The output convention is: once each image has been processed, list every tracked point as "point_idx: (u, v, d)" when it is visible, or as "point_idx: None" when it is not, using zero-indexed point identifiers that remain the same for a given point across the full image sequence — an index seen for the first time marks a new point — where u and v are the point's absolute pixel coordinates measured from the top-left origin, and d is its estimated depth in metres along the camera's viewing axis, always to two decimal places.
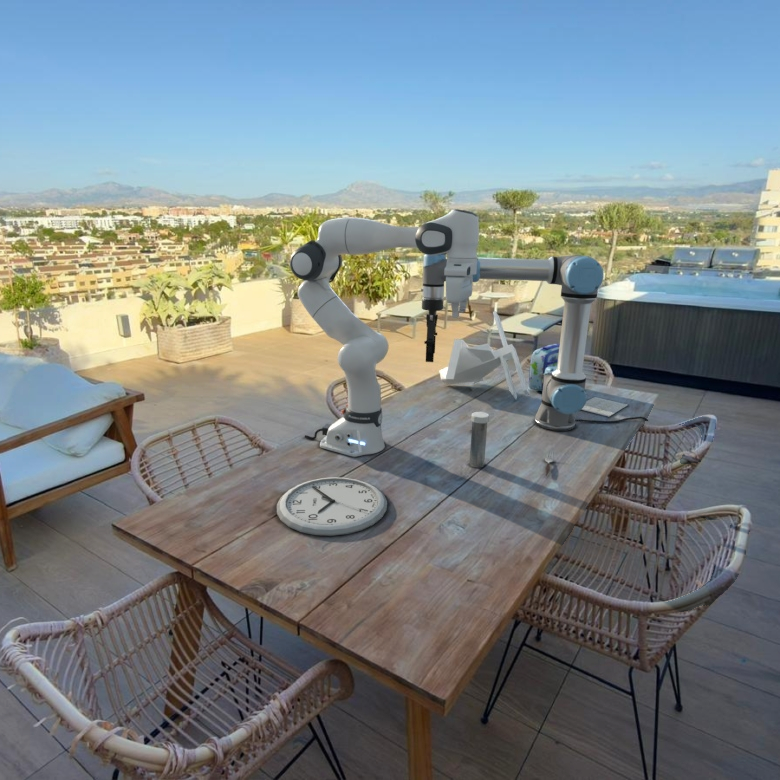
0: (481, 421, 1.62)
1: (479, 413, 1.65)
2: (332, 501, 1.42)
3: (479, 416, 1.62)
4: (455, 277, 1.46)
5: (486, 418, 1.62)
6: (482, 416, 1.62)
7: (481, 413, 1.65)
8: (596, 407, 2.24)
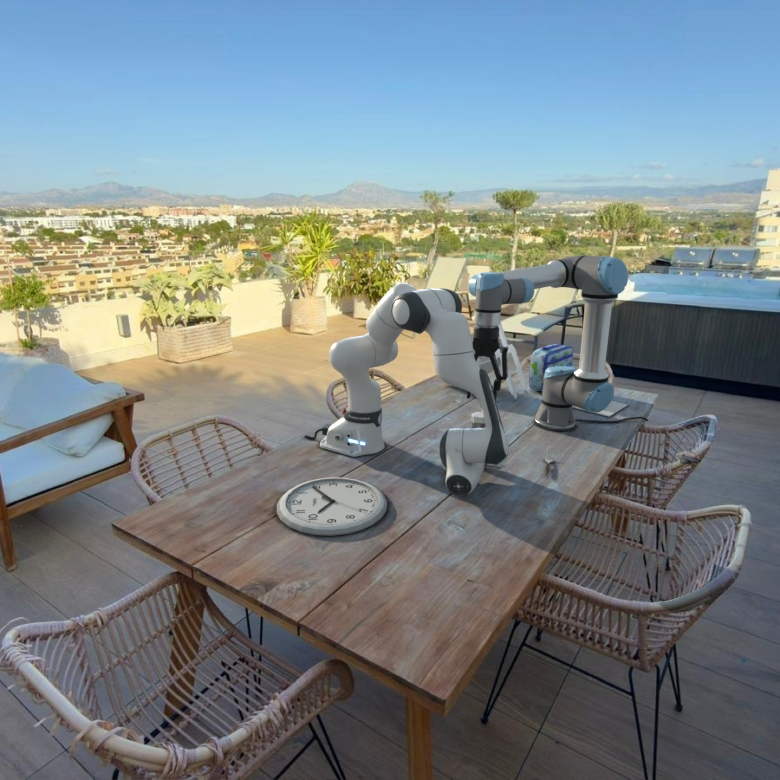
0: (481, 421, 1.62)
1: (479, 413, 1.65)
2: (332, 501, 1.42)
3: (479, 416, 1.62)
4: None
5: None
6: (482, 416, 1.62)
7: (481, 413, 1.65)
8: None
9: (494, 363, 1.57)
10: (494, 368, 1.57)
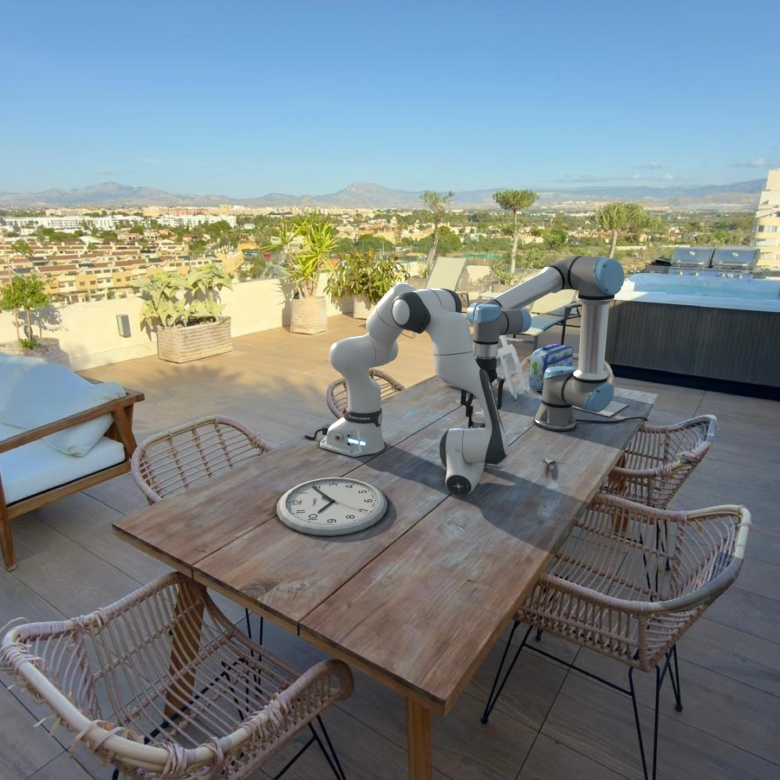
0: (481, 421, 1.62)
1: (479, 413, 1.65)
2: (332, 501, 1.42)
3: (479, 416, 1.62)
4: None
5: None
6: (482, 416, 1.62)
7: (481, 413, 1.65)
8: None
9: None
10: None
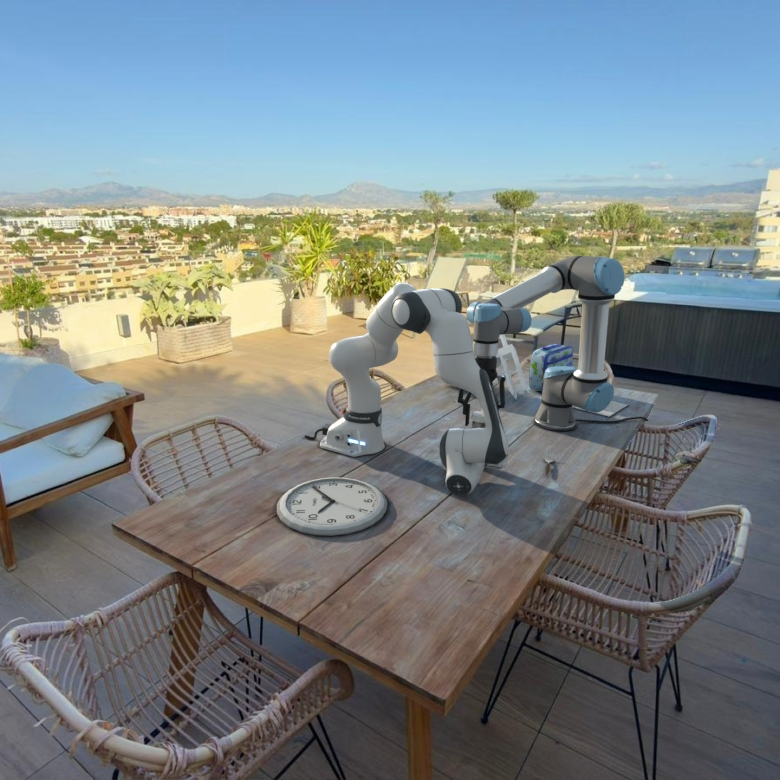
0: None
1: (477, 413, 1.64)
2: (332, 501, 1.42)
3: None
4: None
5: None
6: None
7: (477, 412, 1.64)
8: None
9: None
10: None
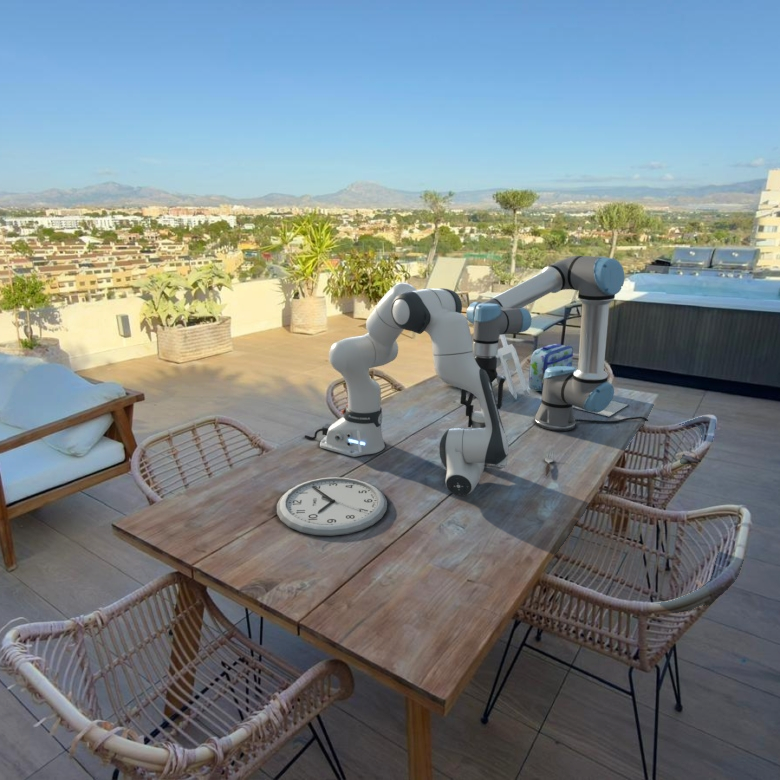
0: None
1: (477, 413, 1.64)
2: (332, 501, 1.42)
3: None
4: None
5: None
6: None
7: (477, 412, 1.64)
8: None
9: None
10: None
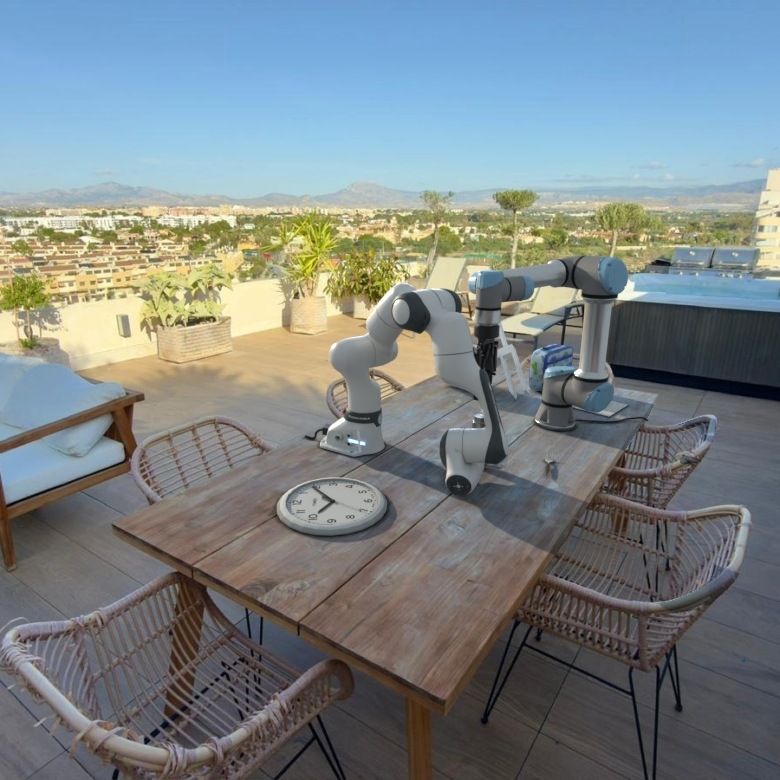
0: None
1: None
2: (332, 501, 1.42)
3: None
4: None
5: None
6: None
7: None
8: None
9: (492, 358, 1.60)
10: (492, 363, 1.61)
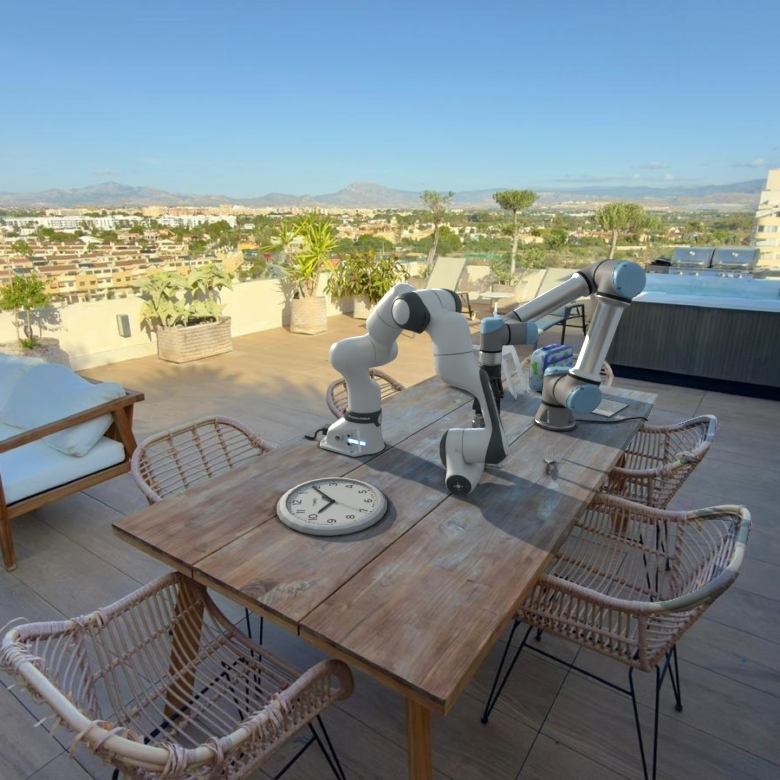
0: None
1: None
2: (332, 501, 1.42)
3: None
4: None
5: None
6: None
7: None
8: None
9: (497, 388, 1.84)
10: (498, 391, 1.85)
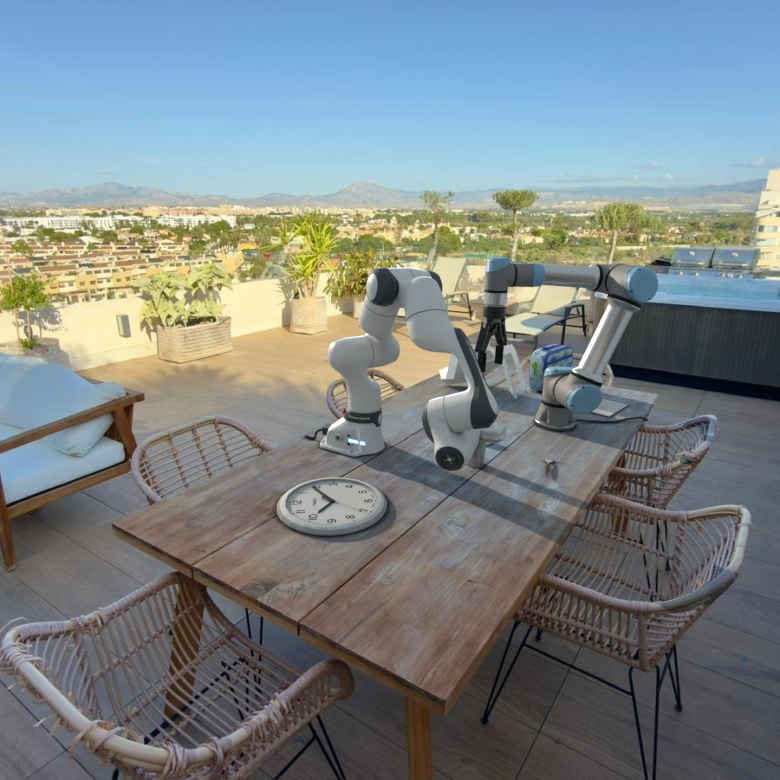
0: None
1: None
2: (332, 501, 1.42)
3: None
4: None
5: None
6: None
7: None
8: None
9: (501, 333, 1.78)
10: (502, 337, 1.79)
